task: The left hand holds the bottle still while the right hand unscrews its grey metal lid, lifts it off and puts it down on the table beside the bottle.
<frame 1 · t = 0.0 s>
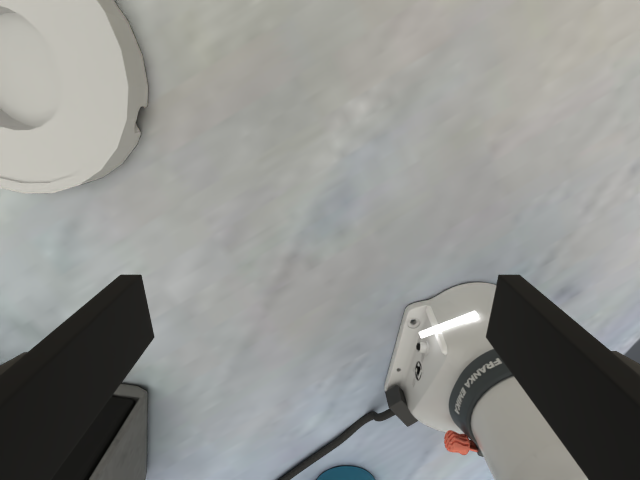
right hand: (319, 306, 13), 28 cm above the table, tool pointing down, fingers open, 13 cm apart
electronic device: (40, 421, 53), on the table
ashtray: (35, 74, 35), on the table
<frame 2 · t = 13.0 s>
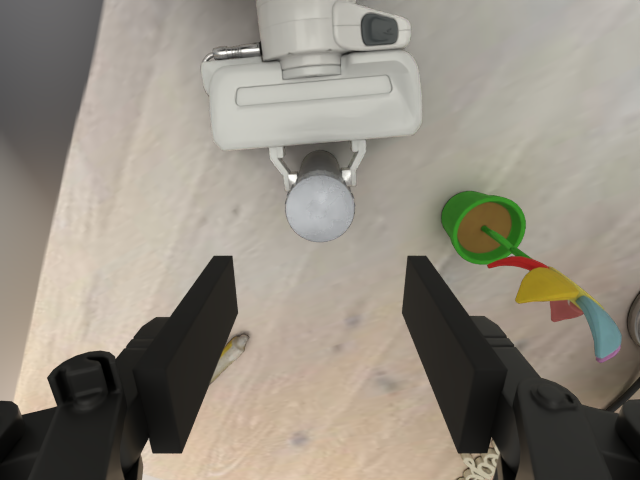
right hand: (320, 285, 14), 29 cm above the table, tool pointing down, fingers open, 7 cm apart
left hand: (321, 187, 36), fingers closed on bottle, 4 cm apart
decorative sign: (468, 479, 61), on the table
syringe: (197, 383, 53), on the table
bottle: (319, 169, 42), on the table, touching left hand
lid: (320, 208, 25), point 17 cm above the table, screwed on, not yet turned
potted flower: (466, 215, 44), on the table
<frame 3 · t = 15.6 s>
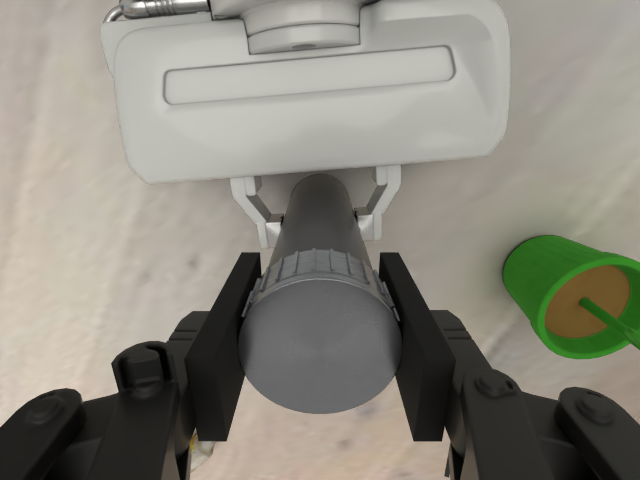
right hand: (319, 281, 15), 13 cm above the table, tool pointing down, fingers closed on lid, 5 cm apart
left hand: (321, 241, 22), fingers closed on bottle, 4 cm apart
bottle: (319, 203, 27), on the table, touching left hand
lid: (320, 344, 11), point 17 cm above the table, screwed on, not yet turned, touching right hand
potted flower: (539, 269, 29), on the table
when the right hand's fingers open (13 cm above the table, at t = 16.7 s): lid stays where it is, point 18 cm above the table.
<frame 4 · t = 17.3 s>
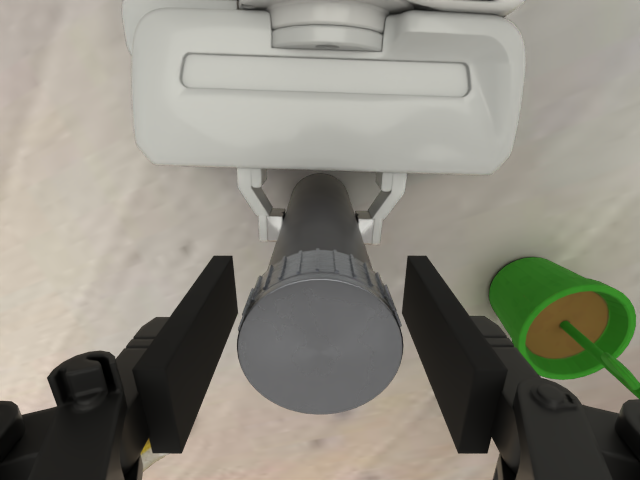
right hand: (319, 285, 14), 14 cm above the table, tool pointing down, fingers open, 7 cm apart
left hand: (320, 240, 22), fingers closed on bottle, 4 cm apart
syringe: (117, 470, 38), on the table
bottle: (319, 202, 27), on the table, touching left hand
lid: (320, 345, 11), point 18 cm above the table, turned 68° so far, risen 0.2 cm, still on its thread
potted flower: (524, 289, 30), on the table
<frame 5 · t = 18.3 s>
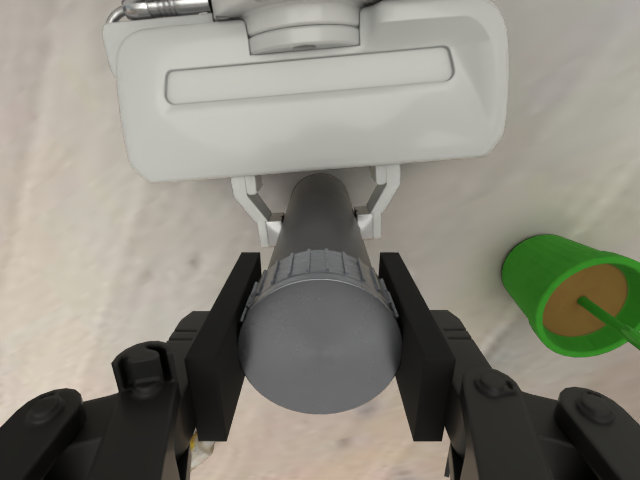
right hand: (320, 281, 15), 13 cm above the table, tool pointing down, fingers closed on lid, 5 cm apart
left hand: (321, 240, 22), fingers closed on bottle, 4 cm apart
bottle: (319, 202, 27), on the table, touching left hand
lid: (320, 345, 11), point 18 cm above the table, turned 68° so far, risen 0.2 cm, still on its thread, touching right hand
potted flower: (538, 268, 29), on the table
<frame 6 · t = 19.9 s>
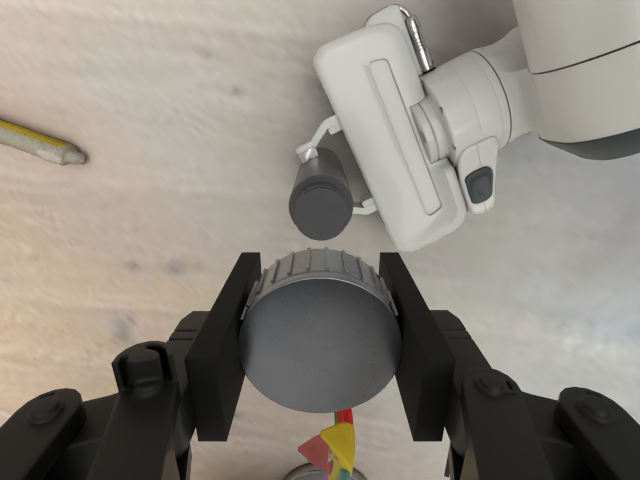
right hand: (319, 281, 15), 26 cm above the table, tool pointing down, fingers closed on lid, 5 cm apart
left hand: (312, 184, 33), fingers closed on bottle, 4 cm apart
bottle: (321, 169, 39), on the table, touching left hand
lid: (320, 343, 11), point 30 cm above the table, off its thread, touching right hand
potted flower: (331, 315, 46), on the table
when the right hand's fingers open (0 cm above the table, at t = 26.2 s): lid drops 3 cm, point 2 cm above the table.
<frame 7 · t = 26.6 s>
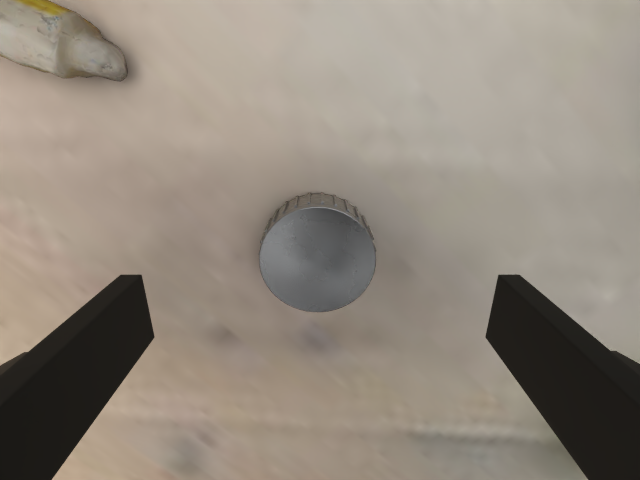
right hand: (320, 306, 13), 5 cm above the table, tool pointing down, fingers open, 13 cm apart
lid: (317, 259, 15), point 2 cm above the table, off its thread
when the left hand's fingers open (6 cm above the table, at t = 26.8 s): bottle stays where it is, on the table.
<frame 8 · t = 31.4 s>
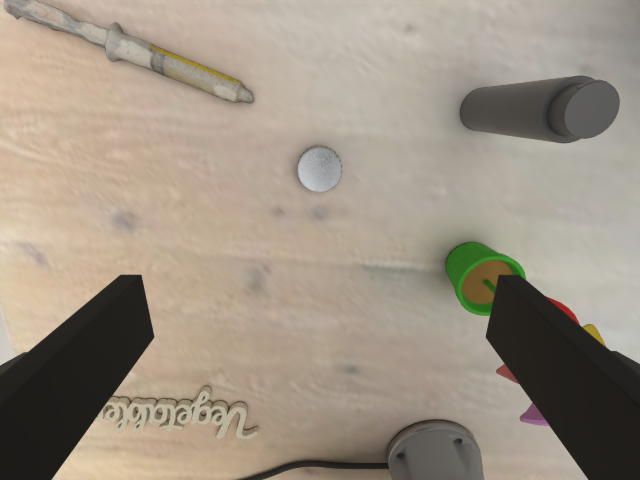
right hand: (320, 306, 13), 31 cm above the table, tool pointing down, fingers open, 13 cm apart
decorative sign: (176, 408, 55), on the table
syringe: (140, 54, 37), on the table
bottle: (480, 109, 39), on the table
lid: (319, 170, 40), point 2 cm above the table, off its thread
potted flower: (467, 264, 46), on the table
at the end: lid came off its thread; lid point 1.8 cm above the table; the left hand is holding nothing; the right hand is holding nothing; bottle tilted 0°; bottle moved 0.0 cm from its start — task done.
